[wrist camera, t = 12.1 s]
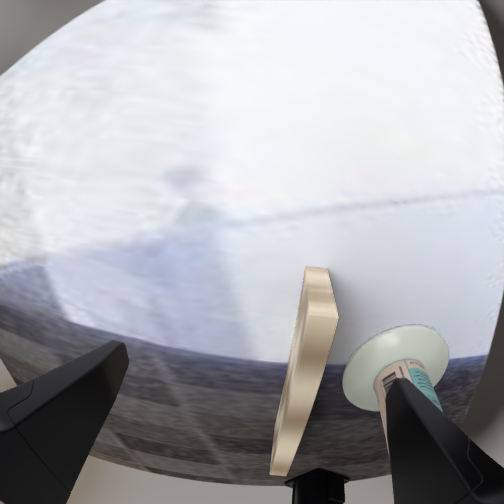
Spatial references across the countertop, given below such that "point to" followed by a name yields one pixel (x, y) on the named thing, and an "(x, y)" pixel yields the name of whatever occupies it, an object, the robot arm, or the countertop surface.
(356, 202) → the countertop surface
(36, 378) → the robot arm
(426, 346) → the sage pad
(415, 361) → the beer can
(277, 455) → the birch screen
